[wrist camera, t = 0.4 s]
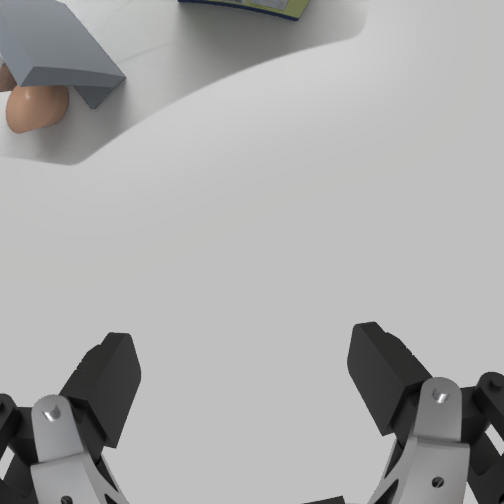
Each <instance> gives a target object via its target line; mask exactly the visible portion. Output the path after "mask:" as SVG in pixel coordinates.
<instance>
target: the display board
mask: <svg viewBox="0 0 504 504" xmlns="http://www.w3.org/2000/svg"><path fill="white" fill-rule="evenodd" d="M0 53H1V55H2V57H3V59H4V61H5V63H6V65H7V66H8V68H9V70H10V72H11V73H12V75H13V77H14V79H15V80H16V82H17V84H18V85H19V87H28V86H49V85H74V87H75V88H76V89H77V91H78V92H79V93H80V95H81V96H82V97H83V99H84V100H85V101H86V103H87V104H88V105H89V107H90V108H91V109H95V108H96V107H97V106H98V105H99V104H100V103H101V101H102V100H103V99H104V98H105V97H106V96H107V95H108V94H109V93H110V92H111V91H112V90H113V89H114V88H115V87H116V86H117V85H118V84H119V83H120V82H121V81H122V80H123V79H124V78H125V77H126V76H125V75H124V74H123V73H122V72H121V70H120V69H119V68H118V67H117V66H116V64H115V63H114V62H113V61H112V60H111V58H110V57H109V56H108V55H107V53H106V52H105V51H104V50H103V49H102V47H101V46H100V45H99V44H98V43H97V41H96V40H95V39H94V38H93V37H92V35H91V34H90V33H89V32H88V31H87V30H86V28H85V27H84V26H83V25H82V24H81V22H80V21H79V20H78V19H77V18H76V16H75V15H74V14H73V13H72V12H71V11H70V9H69V8H68V7H67V6H66V5H65V4H63V3H61V2H58V1H55V0H0Z"/></svg>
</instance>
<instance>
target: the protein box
mask: <svg viewBox="0 0 504 504" xmlns="http://www.w3.org/2000/svg"><path fill="white" fill-rule="evenodd" d="M178 1H179V2H194V3H205V4H214V5H222V6H229V7H235V8H241V9H246V10H251V11H256V12H261V13H265V14H269V15H274V16H278V17H281V18H285V19H289V20H292V21H298V19H299V17H300V16H301V14H302V12H303V11H304V9H305V7H306V6H307V4H308V3H309V1H310V0H178Z"/></svg>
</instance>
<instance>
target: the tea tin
mask: <svg viewBox="0 0 504 504" xmlns="http://www.w3.org/2000/svg"><path fill="white" fill-rule="evenodd" d="M17 85H18V84H17V82H16V80H15V79H14V77H13V75H12V73H11V72H10V70H9V68H8V66H7V65H6V63H5V61H4V59H3V57H2V55H1V53H0V92H5V91H13V89H14V88H15V87H16V86H17Z"/></svg>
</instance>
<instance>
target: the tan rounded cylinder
mask: <svg viewBox="0 0 504 504" xmlns="http://www.w3.org/2000/svg"><path fill="white" fill-rule="evenodd" d="M68 100H69V96H68V90H67V88H66V86H65V85H49V86H28V87H19V85H17V86H16V87H15V88H14V89H13V91H12V92H11V94H10V96H9V99H8V102H7V106H6V120H7V123H8V126H9V128H10V129H11V130H12V131H13V132H15V133H23V132H26V131H30V130H34V129H38V128H42V127H46V126H51V125H54V124H56V123H57V122H59V121H60V120H61V118H62V117H63V116H64V114H65V112H66V109H67V106H68Z"/></svg>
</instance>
